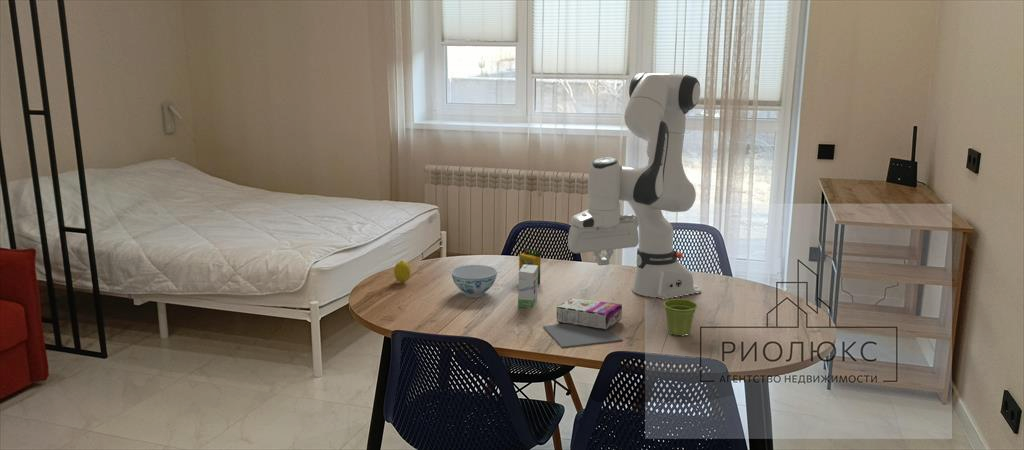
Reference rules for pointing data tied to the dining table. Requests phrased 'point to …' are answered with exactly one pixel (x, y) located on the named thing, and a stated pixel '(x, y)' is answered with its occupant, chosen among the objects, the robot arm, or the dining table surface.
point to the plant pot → (679, 315)
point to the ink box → (528, 286)
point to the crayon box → (530, 260)
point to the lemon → (402, 271)
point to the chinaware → (474, 279)
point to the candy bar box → (589, 313)
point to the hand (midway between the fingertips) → (603, 264)
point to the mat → (580, 335)
